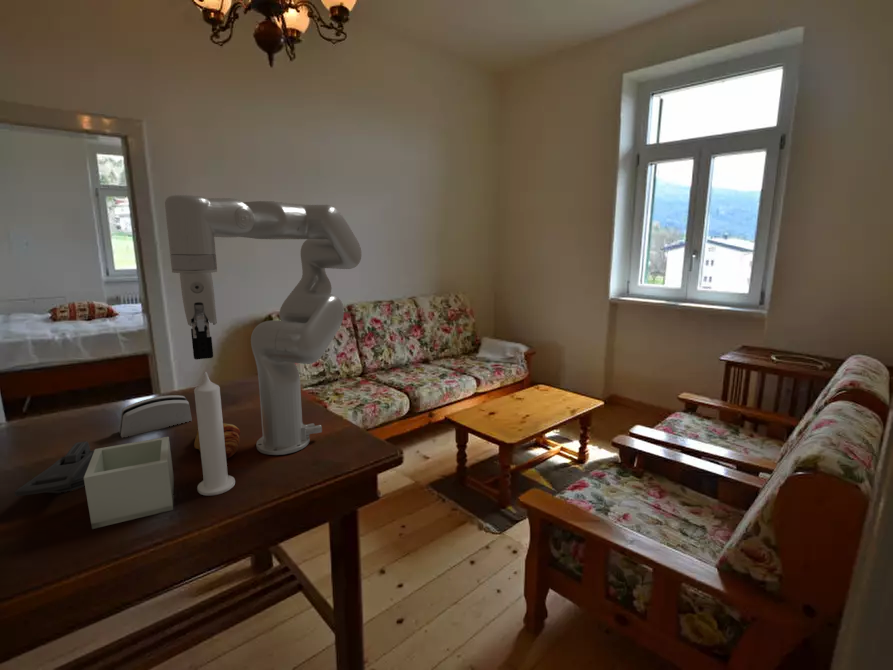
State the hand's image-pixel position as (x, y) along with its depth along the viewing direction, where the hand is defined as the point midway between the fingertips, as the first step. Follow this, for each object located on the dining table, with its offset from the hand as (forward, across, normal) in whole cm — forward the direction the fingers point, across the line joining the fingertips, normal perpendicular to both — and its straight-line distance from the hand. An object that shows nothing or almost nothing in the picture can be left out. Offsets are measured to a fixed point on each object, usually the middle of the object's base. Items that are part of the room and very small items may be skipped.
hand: (202, 352), depth 89 cm
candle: (+29, 0, 0) cm, 29 cm away
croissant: (+29, +20, -2) cm, 36 cm away
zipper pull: (+29, +14, +26) cm, 42 cm away
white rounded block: (+29, +40, +12) cm, 51 cm away
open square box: (+29, +1, +14) cm, 32 cm away
